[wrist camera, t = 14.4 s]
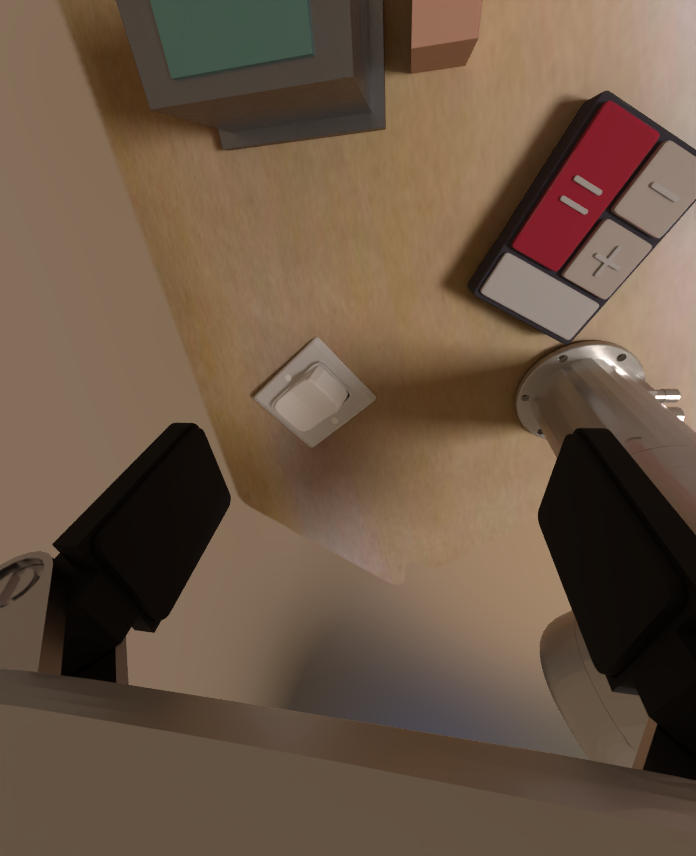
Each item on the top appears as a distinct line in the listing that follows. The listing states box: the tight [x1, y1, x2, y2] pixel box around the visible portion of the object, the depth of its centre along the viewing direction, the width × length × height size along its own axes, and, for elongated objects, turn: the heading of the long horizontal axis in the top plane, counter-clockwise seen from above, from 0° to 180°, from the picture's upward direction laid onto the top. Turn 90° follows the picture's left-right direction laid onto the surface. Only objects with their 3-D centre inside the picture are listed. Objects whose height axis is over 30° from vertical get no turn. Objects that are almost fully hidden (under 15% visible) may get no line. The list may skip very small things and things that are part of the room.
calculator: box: [468, 91, 696, 344], centre depth 29 cm, size 11×4×15 cm
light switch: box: [253, 337, 376, 448], centre depth 43 cm, size 11×4×13 cm
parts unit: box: [116, 0, 386, 150], centre depth 22 cm, size 14×8×12 cm, turn 95°
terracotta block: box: [411, 0, 482, 74], centre depth 22 cm, size 4×4×6 cm
